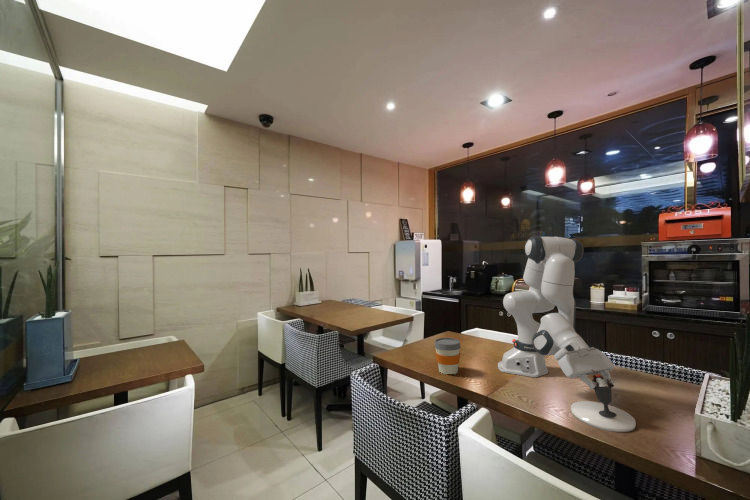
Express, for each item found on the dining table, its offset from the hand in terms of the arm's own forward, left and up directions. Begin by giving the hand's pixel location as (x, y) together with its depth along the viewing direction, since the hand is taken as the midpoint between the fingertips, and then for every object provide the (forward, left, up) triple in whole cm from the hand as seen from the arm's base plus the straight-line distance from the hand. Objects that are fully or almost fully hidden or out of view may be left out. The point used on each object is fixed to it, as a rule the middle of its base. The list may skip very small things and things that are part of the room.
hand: (602, 386), depth 104 cm
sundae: (+1, 0, -10) cm, 10 cm away
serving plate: (0, +1, -11) cm, 11 cm away
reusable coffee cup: (-55, +29, -11) cm, 63 cm away
